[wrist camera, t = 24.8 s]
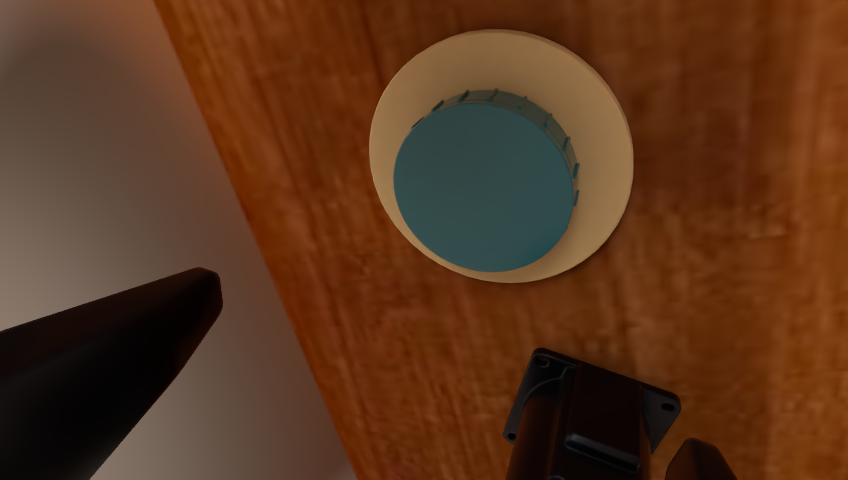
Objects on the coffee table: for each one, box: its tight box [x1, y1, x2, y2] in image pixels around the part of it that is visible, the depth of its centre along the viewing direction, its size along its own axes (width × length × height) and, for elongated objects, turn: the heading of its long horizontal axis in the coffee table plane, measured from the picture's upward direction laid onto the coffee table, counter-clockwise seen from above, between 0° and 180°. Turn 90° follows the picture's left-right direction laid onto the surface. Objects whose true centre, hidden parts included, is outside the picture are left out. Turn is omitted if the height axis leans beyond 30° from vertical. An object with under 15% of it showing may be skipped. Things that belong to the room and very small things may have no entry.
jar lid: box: [393, 88, 580, 272], centre depth 19 cm, size 7×7×2 cm
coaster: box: [369, 29, 634, 283], centre depth 20 cm, size 10×10×1 cm
